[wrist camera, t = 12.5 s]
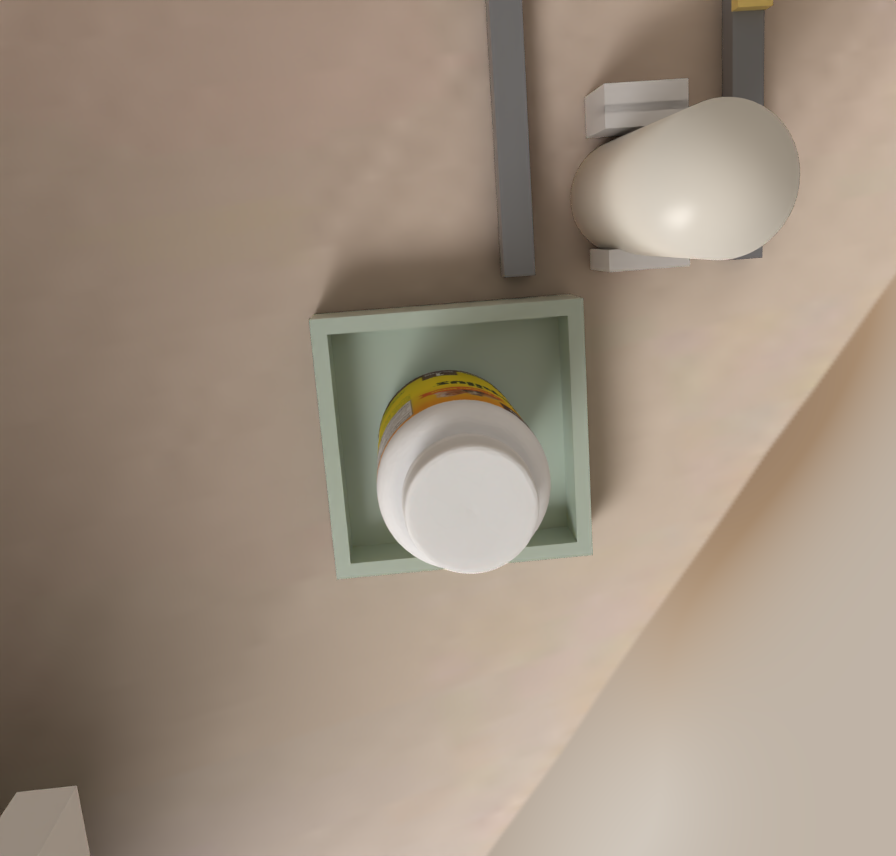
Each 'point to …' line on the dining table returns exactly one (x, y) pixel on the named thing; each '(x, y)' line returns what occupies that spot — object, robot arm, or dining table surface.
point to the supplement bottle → (459, 473)
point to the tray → (466, 349)
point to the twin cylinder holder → (652, 158)
